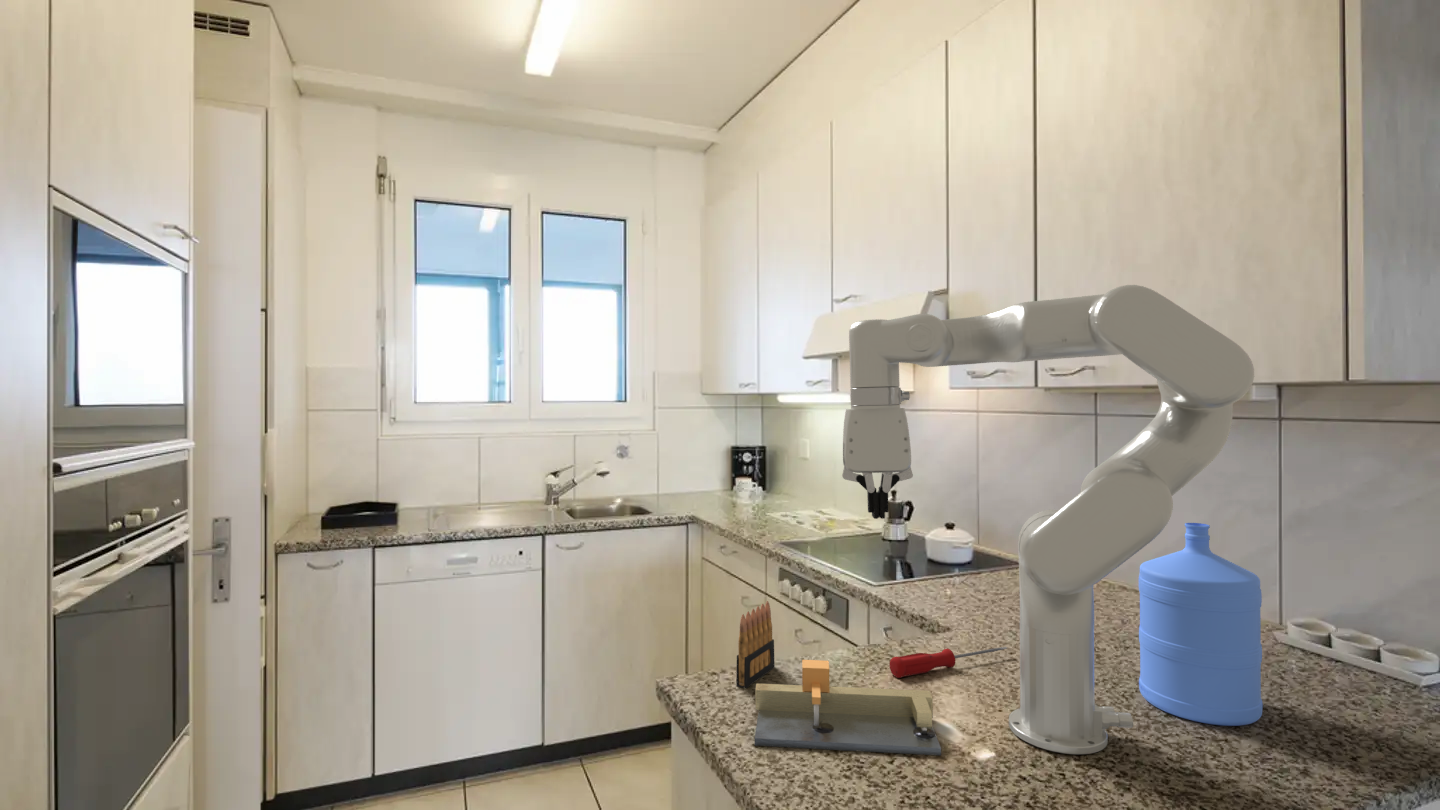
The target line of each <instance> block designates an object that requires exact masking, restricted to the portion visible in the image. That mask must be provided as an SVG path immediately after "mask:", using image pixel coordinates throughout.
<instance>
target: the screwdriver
mask: <svg viewBox="0 0 1440 810" xmlns="http://www.w3.org/2000/svg"><path fill="white" fill-rule="evenodd" d="M1006 649H1008V647H1007V646H1004V647H1003V646H1002V647H995V648H990V649H983V650H977V651H973V652H967V653H961V654H955V653H954V652H953V651H952V649H950V648H944V649H943V650H942V651H939V652H936V653H935V652H934V653H927V652H925V653H924V652H919V653H918V652H917V653H911V654H907V655H901V656H893V657H891V658H890V660H889V671H890V672H891V674H892V675H893V677H895V678H896V679H901V678H903V677H909V676H914V675H921V674H926V673H928V672H930V671H932V670H933V669H937V668H941V667H946V668H948V669H949V668H954V667H955V665H956V659H960V658H965V657H971V656H976V655H982V654H987V653H994V652H998V651H1004V650H1006Z"/></svg>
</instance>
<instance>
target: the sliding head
mask: <svg viewBox="0 0 1440 810" xmlns="http://www.w3.org/2000/svg"><path fill="white" fill-rule="evenodd" d="M801 669H802V670H801V671H802V673H801V674H802V675H801V677H802V680H801V681H802V684H801V685H802V691H811V692H812V704H814V725H815V726H819V705H821V694H820V692H830V689H829V687H830V662H829V660H821V659H820V660H819V659H818V660H817V659H802V663H801Z"/></svg>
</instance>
